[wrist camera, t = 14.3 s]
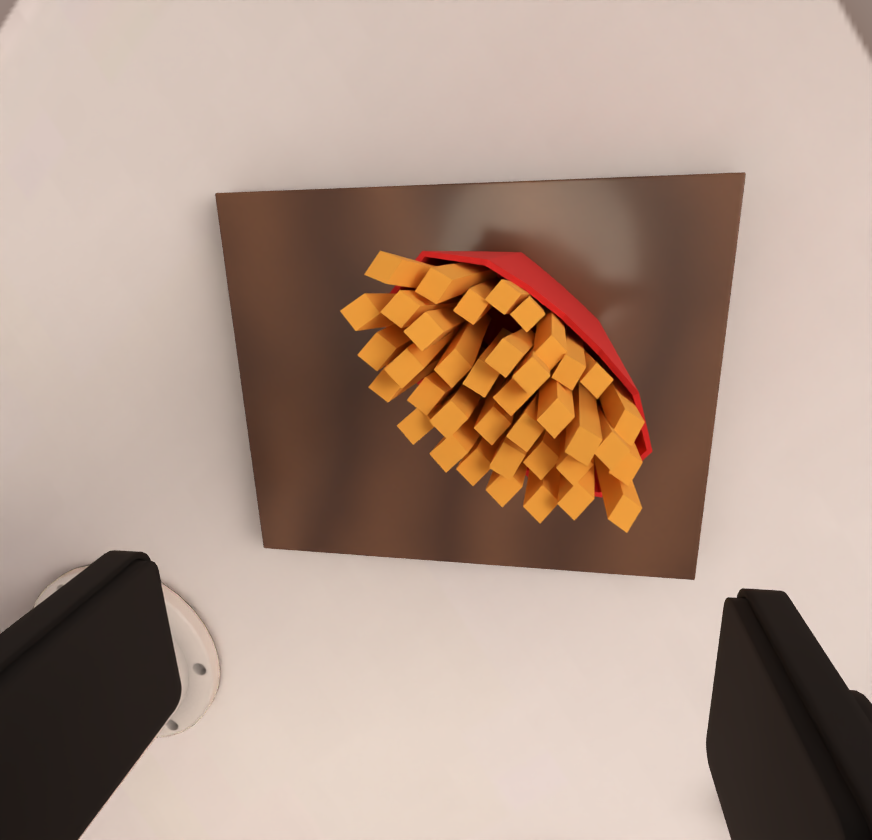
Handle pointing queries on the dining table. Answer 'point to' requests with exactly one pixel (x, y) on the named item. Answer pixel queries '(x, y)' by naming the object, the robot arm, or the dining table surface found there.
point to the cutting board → (377, 419)
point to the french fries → (506, 379)
